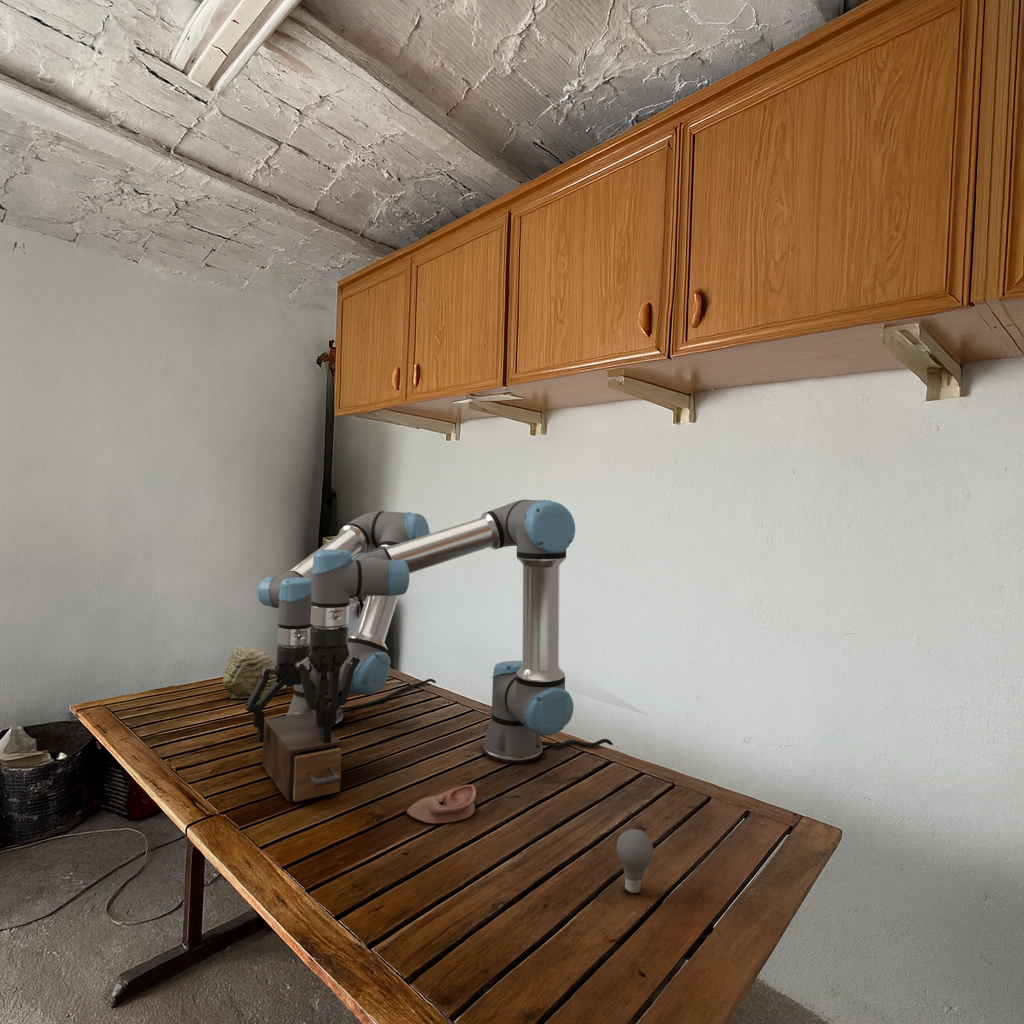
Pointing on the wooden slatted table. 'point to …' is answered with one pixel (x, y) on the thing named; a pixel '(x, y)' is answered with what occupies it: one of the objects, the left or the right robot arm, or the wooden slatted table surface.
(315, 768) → the drawer
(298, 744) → the cabinet
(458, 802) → the anatomical model
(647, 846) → the light bulb
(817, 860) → the wooden slatted table surface
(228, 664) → the fossil
